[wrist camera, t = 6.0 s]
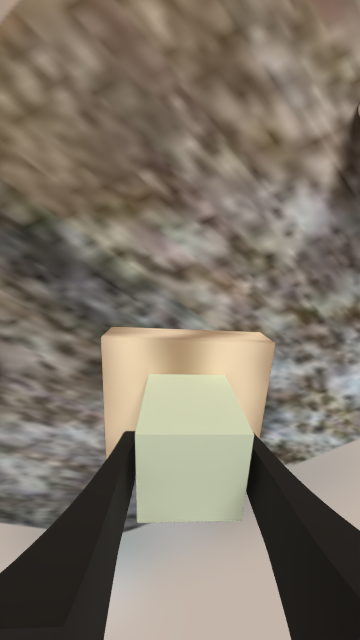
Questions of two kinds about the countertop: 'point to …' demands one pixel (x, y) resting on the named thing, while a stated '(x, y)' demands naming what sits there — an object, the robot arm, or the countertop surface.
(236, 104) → the countertop surface
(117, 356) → the block
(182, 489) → the green cube
